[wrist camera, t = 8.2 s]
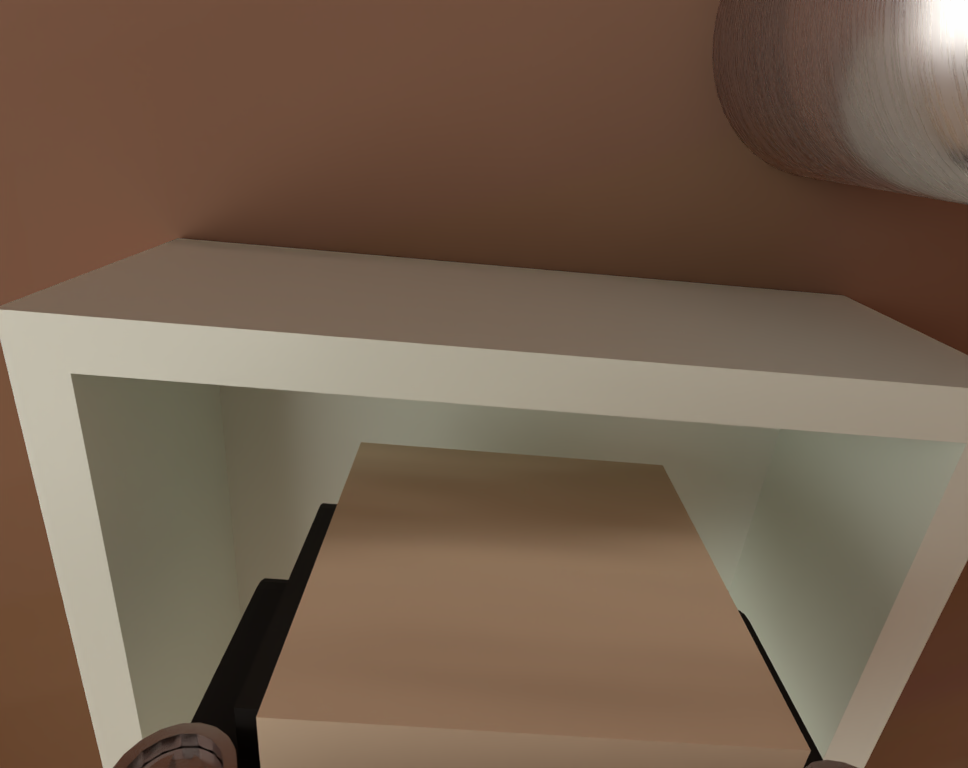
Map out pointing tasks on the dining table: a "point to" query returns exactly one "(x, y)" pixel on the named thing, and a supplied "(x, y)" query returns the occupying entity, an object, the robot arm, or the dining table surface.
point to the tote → (480, 446)
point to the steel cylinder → (850, 90)
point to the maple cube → (518, 626)
